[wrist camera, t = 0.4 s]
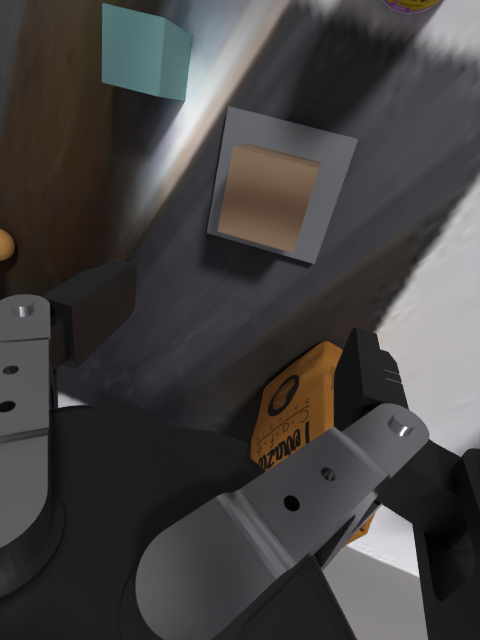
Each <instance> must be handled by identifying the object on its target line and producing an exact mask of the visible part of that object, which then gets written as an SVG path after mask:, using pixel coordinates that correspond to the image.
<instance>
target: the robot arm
mask: <svg viewBox="0 0 480 640" xmlns="http://www.w3.org/2000/svg"><path fill="white" fill-rule="evenodd" d="M136 274H137V270H136V266H135V264H132V263H129V262H125V261H122V260H118V259H112V260H110V261H109V262H107V263H106V264H104V265H102V266H101V267H99V268H98V267H96V268H92V269H88V270H85V271H82V272H81V273H79V274H77V275H76V276H74V278H71V279H69V280H67V281H66V282H65V283H62V284H61V285H59V286H57V287H56V288H54V289H52V290H51V291H49V292H47V293H46V294H44V295H42V296H41V297H40V296H35V295H16V296H11V297H7V298H5V299H2V300H1V301H0V640H357V638H356V637H355V634H354V632H353V630H352V629H351V627H350V625H349V623H348V621H347V619H346V617H345V615H344V613H343V611H342V609H341V607H340V605H339V603H338V601H337V599H336V597H335V595H334V593H333V591H332V589H331V587H330V586H329V584H328V582H327V580H326V578H325V576H324V574H323V572H322V571H323V570H324V569H325V568H326V567H327V565H328V564H329V563H330V562H331V561H332V559H333V558H334V557H335V556H336V555H337V553H338V552H339V551H340V550H341V548H342V547H343V546H344V545H345V544H346V543H347V542H348V541H349V539H350V538H351V537H352V536H353V535H354V534H355V533H356V532H357V531H358V530H359V529H360V528H361V527H362V526H363V525H364V524H365V523H366V522H367V521H368V519H369V518H370V517H371V516H372V515H373V514H374V513H375V512H376V511H377V510H378V509H379V508H380V507H381V506H382V505H384V506H386V507H387V508H389V509H390V510H392V511H393V512H395V513H397V514H398V515H400V516H401V517H403V518H404V519H406V520H407V521H409V522H411V523H412V524H413V532H414V539H415V547H416V554H417V561H418V569H419V576H420V582H421V591H422V597H423V605H424V612H425V620H426V627H427V635H428V640H480V449H469V450H467V451H466V452H465V453H464V454H463V456H462V457H459V456H458V455H456V454H454V453H452V452H450V451H448V450H446V449H445V448H443V447H441V446H439V445H437V444H436V443H434V442H433V441H431V440H430V439H429V431H428V429H427V427H426V425H425V424H424V422H423V421H422V420H421V419H420V418H419V417H418V416H417V415H416V414H414V413H413V412H411V411H410V410H409V408H408V404H407V400H406V397H405V393H404V389H403V385H402V384H401V382H402V381H401V378H400V375H399V370H398V366H397V363H396V361H395V360H394V359H393V358H392V356H391V355H390V354H389V352H387V351H383V350H380V347H379V342H378V337H377V334H376V333H372V332H369V331H365V330H362V329H358V328H353V330H352V331H351V333H350V336H349V338H348V340H347V343H346V345H345V347H344V349H343V352H342V354H341V356H340V359H339V361H338V363H337V366H336V369H335V373H334V427H333V428H330V429H329V430H327V431H326V432H324V433H323V434H321V435H320V436H318V437H317V438H315V439H314V440H312V441H311V442H309V443H308V444H306V445H305V446H303V447H302V448H300V449H299V450H297V451H296V452H294V453H293V454H291V455H290V456H288V457H287V458H285V459H284V460H282V461H281V462H279V463H278V464H276V465H275V466H273V467H272V468H270V469H269V470H267V471H266V470H265V469H264V468H262V467H261V466H260V465H259V464H258V463H257V462H255V461H254V460H253V459H251V458H250V457H248V456H246V451H247V447H248V444H249V443H247V442H244V441H241V440H238V439H235V438H231V437H228V436H225V435H222V434H219V433H216V432H213V431H207V430H197V429H188V428H179V427H171V426H168V425H166V424H165V423H163V422H162V421H160V420H158V419H157V418H155V417H153V416H152V415H150V414H148V413H147V412H145V411H143V410H142V409H140V408H138V407H136V406H133V405H130V404H127V403H124V402H121V401H118V400H115V399H112V398H109V397H106V396H103V395H102V396H101V398H100V399H99V400H98V401H97V402H96V404H95V405H94V406H91V405H77V406H68V407H62V408H58V390H57V370H56V368H58V367H59V366H60V365H61V364H62V365H65V366H68V367H71V368H74V369H76V368H77V367H78V366H79V365H80V364H81V363H83V362H84V361H85V360H86V359H87V358H88V357H89V356H90V355H91V354H92V353H93V352H94V351H95V350H96V349H97V348H98V347H99V346H100V345H101V344H102V343H103V342H104V341H105V340H106V339H107V338H108V337H110V336H111V335H112V334H113V333H114V332H115V331H116V330H117V329H118V328H119V327H120V326H121V325H122V324H123V323H124V322H125V321H126V320H127V319H128V318H129V317H130V316H131V314H132V312H133V310H134V306H135V296H136Z"/></svg>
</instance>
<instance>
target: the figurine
mask: <svg viewBox="0 0 480 640" xmlns="http://www.w3.org/2000/svg"><path fill="white" fill-rule="evenodd" d="M14 250H15V243H14V240H13V238H12V237H11V236H10V235H9V234H8V233H7V232H6V231H4V230H1V229H0V261H2V260H5V259H8V258H9V257H10V256H11V255H12V254H13V253H14Z"/></svg>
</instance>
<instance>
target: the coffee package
mask: <svg viewBox="0 0 480 640" xmlns="http://www.w3.org/2000/svg"><path fill="white" fill-rule="evenodd" d="M342 352H343V350H342V349H341V348H339V347H337V346H335V345H334V344H332V343H331V342H329V341H324V342H322V343H320V344H318V345H317V346H315V347H314V348H312V349H311V350H310V351H308V352H307V353H306V354H305V355H303V356H302V357H301V358H299V359H298V360H297V361H295V362H294V363H293V364H291V365H290V366H289V367H288V368H287V369H285V370H284V371H283V372H282V373H281V374H280V375H278V376H277V377H276V378H275V379H274V380H272V381H271V382H270V383H269V384H268V385H267V386H266V387H265V388H264V390H263V396H262V401H261V406H260V411H259V416H258V420H257V423H256V426H255V429H254V433H253V436H252V440H251V459H253V460H254V461H255V462H257V463H258V464H259V465H260V466H261V467H262V468H264V469H265V470H266V471H267V470H269V469H270V468H272V467H273V466H275V465H276V464H278V463H279V462H281V461H282V460H284V459H285V458H287V457H288V456H290V455H291V454H293V453H294V452H296V451H297V450H299V449H300V448H302V447H303V446H305V445H306V444H308V443H309V442H311V441H312V440H314V439H315V438H317V437H318V436H320V435H321V434H323V433H324V432H326V431H327V430H329V429H330V428H333V427H334V373H335V369H336V366H337V363H338V361H339V359H340V356H341V354H342ZM374 515H375V513H374V514H373V515H372V516H371V517H370V518H369V519H368V521H367V522H366V523H365V524H364V525H363V526H362V527H361V528H360V529H359V530H358V531H357V532H356V533H355V534H354V535H353V536H352V537H351V538H350V539H349V541H348V542H347V543H346V544H345V545H344V546H346V545H347V544H349V543H351V542H352V541H354V540H356V539H358V538H360V537H362V536H363V535H366V534H367V532H368V529H369V527H370V523H371V521H372V519H373V517H374ZM344 546H343V547H344ZM343 547H342V548H343Z"/></svg>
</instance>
